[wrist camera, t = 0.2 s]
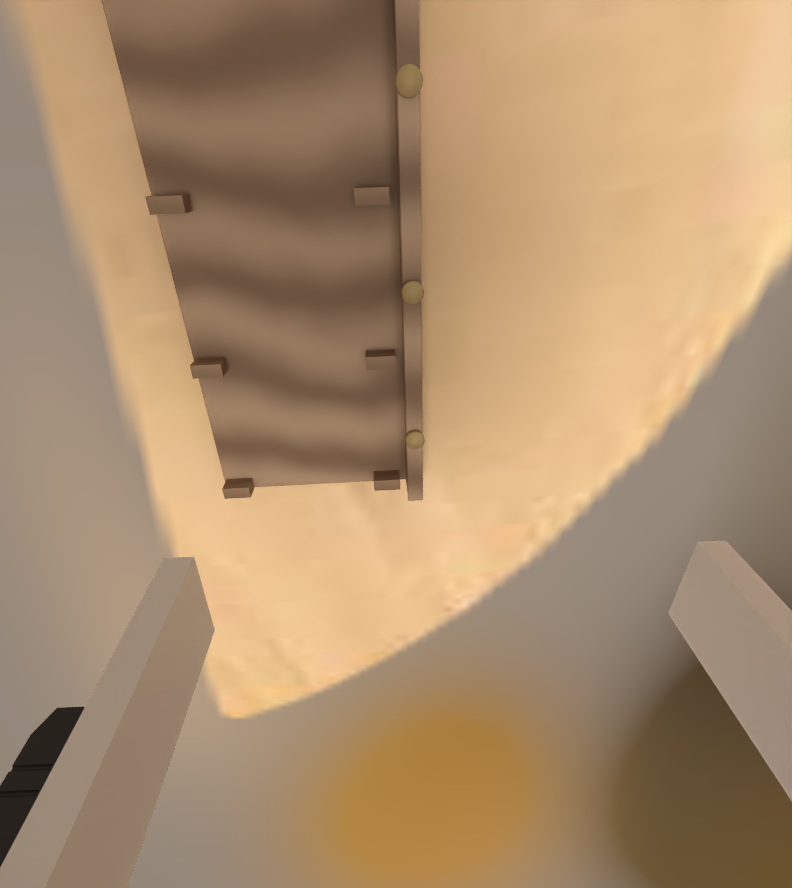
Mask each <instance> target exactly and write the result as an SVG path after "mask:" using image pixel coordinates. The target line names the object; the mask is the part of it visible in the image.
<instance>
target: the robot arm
mask: <svg viewBox="0 0 792 888" xmlns="http://www.w3.org/2000/svg"><path fill="white" fill-rule="evenodd" d="M668 614H669V615H670V617H671V618H672V620H673V622H674V623H675V624H676V626H677V627H678V629H679V631H680V632H681V634H682V635H683V637H684V638H685V640H686V641H687V643H688V644H689V646H690V647H691V649H692V650H693V652H694V653H695V655H696V656H697V658H698V660H699V661H700V663H701V664H702V665H703V667H704V668H705V670H706V672H707V673H708V675H709V676H710V678H711V679H712V681H713V682H714V684H715V685H716V687H717V688H718V690H719V691H720V693H721V694H722V696H723V697H724V699H725V700H726V702H727V704H728V705H729V707H730V708H731V710H732V711H733V712H734V714H735V716H736V717H737V719H738V720H739V722H740V723H741V725H742V726H743V728H744V729H745V731H746V732H747V734H748V735H749V737H750V738H751V740H752V742H753V743H754V745H755V746H756V748H757V749H758V751H759V752H760V754H761V755H762V757H763V758H764V760H765V761H766V763H767V764H768V766H769V767H770V769H771V770H772V772H773V773H774V775H775V776H776V778H777V779H778V781H779V783H780V784H781V785H782V787H783V788H784V790H785V791H786V793H787V795H788V796H789V798H790V799H791V801H792V611H791V610H790V609H789V608H788V607H787V606H786V604H785V603H784V602H783V601H782V600H781V599H780V598H779V597H778V596H777V595H776V594H775V593H774V592H773V591H772V590H771V588H769V587H768V585H767V584H766V583H765V582H764V581H763V580H762V579H761V578H760V577H759V576H758V575H757V574H756V573H755V572H754V571H753V569H751V567H750V566H749V565H748V564H747V563H746V562H745V561H744V560H743V559H742V558H741V557H740V555H739V554H738V553H737V552H736V551H735V550H734V549H733V548H732V547H731V546H730V545H729V544H728V543H727V542H726V541H707V542H697V545H696V547H695V549H694V552H693V554H692V557H691V559H690V562H689V564H688V567H687V569H686V571H685V574H684V576H683V579H682V581H681V584H680V586H679V588H678V591H677V594H676V596H675V598H674V601H673V603H672V605H671V608H670V610H669V613H668ZM214 630H215V629H214V626H213V622H212V619H211V615H210V612H209V608H208V605H207V601H206V597H205V594H204V590H203V587H202V583H201V580H200V576H199V573H198V569H197V566H196V562H195V558H194V557H182V558H163V560H162V562H161V564H160V566H159V568H158V569H157V571H156V573H155V575H154V577H153V579H152V581H151V583H150V585H149V587H148V589H147V590H146V592H145V594H144V596H143V598H142V600H141V602H140V604H139V605H138V607H137V609H136V611H135V613H134V615H133V617H132V619H131V621H130V623H129V625H128V627H127V628H126V630H125V632H124V634H123V636H122V638H121V640H120V642H119V644H118V645H117V647H116V649H115V651H114V653H113V655H112V657H111V659H110V660H109V663H108V664H107V666H106V668H105V670H104V672H103V674H102V676H101V678H100V679H99V682H98V683H97V685H96V687H95V689H94V691H93V693H92V695H91V697H90V698H89V700H88V702H87V704H86V706H85V707H68V708H57V709H56V710H55V711H54V712H53V713H52V714H51V715H50V716H49V717H48V718H47V719H46V720H45V721H44V722H43V723H42V724H41V725H40V726H39V727H38V728H37V729H36V730H35V731H34V732H33V733H32V734H31V735H30V737H29V739H28V740H27V742H26V744H25V746H24V747H23V749H22V750H21V752H20V754H19V755H18V757H17V759H16V761H15V762H14V764H13V768H12V771H11V772H8V774H7V776H6V777H5V779H4V781H3V782H2V784H1V786H0V888H128V886H129V883H130V880H131V877H132V874H133V871H134V868H135V865H136V862H137V859H138V856H139V853H140V850H141V847H142V844H143V841H144V838H145V835H146V832H147V829H148V826H149V823H150V820H151V818H152V815H153V811H154V808H155V806H156V803H157V800H158V797H159V794H160V791H161V788H162V785H163V782H164V779H165V776H166V773H167V770H168V767H169V764H170V761H171V758H172V755H173V752H174V749H175V746H176V743H177V740H178V737H179V734H180V731H181V728H182V725H183V722H184V719H185V716H186V714H187V710H188V707H189V704H190V702H191V699H192V696H193V693H194V690H195V686H196V684H197V681H198V678H199V675H200V672H201V669H202V666H203V663H204V660H205V657H206V654H207V651H208V648H209V645H210V642H211V639H212V636H213V633H214Z"/></svg>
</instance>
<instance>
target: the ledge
mask: <svg viewBox="0 0 792 888" xmlns="http://www.w3.org/2000/svg"><path fill="white" fill-rule="evenodd" d="M102 4H103V7H104V11H105V15H106V19H107V23H108V27H109V31H110V35H111V39H112V42H113V46H114V50H115V54H116V58H117V62H118V66H119V70H120V74H121V77H122V81H123V85H124V89H125V93H126V97H127V101H128V105H129V109H130V113H131V116H132V120H133V124H134V128H135V132H136V136H137V140H138V144H139V148H140V151H141V155H142V159H143V163H144V167H145V171H146V175H147V179H148V183H149V187H150V190H151V194H152V196H147V197H146V201H147V204H148V208H149V212H150V215H153V214H157V218H158V222H159V225H160V229H161V233H162V237H163V241H164V245H165V249H166V253H167V257H168V261H169V264H170V268H171V272H172V276H173V280H174V284H175V288H176V292H177V296H178V299H179V303H180V307H181V311H182V315H183V319H184V323H185V327H186V331H187V334H188V338H189V342H190V346H191V350H192V354H193V358H194V362H193V363H192V364H191V365H190V368H191V372H192V376H193V379H195V378H199V381H200V385H201V389H202V393H203V397H204V401H205V405H206V408H207V412H208V416H209V420H210V424H211V428H212V432H213V436H214V440H215V444H216V447H217V451H218V455H219V459H220V463H221V467H222V471H223V475H224V479H225V484H224V487H223V489H222V490H223V493H224V497H225V499H227V498H246V497H251V495H252V492H253V490H254V487H266V486H284V485H303V484H322V483H341V482H360V481H374V489H375V491H377V490H396V489H400V479H406V483H407V492H408V501H414V500H423V454H422V446H423V444H424V436H423V433H422V322H421V299H422V298H423V294H424V291H423V288H422V285H421V190H420V89H421V87H422V81H423V79H422V74H421V72H420V58H419V0H102Z"/></svg>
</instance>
